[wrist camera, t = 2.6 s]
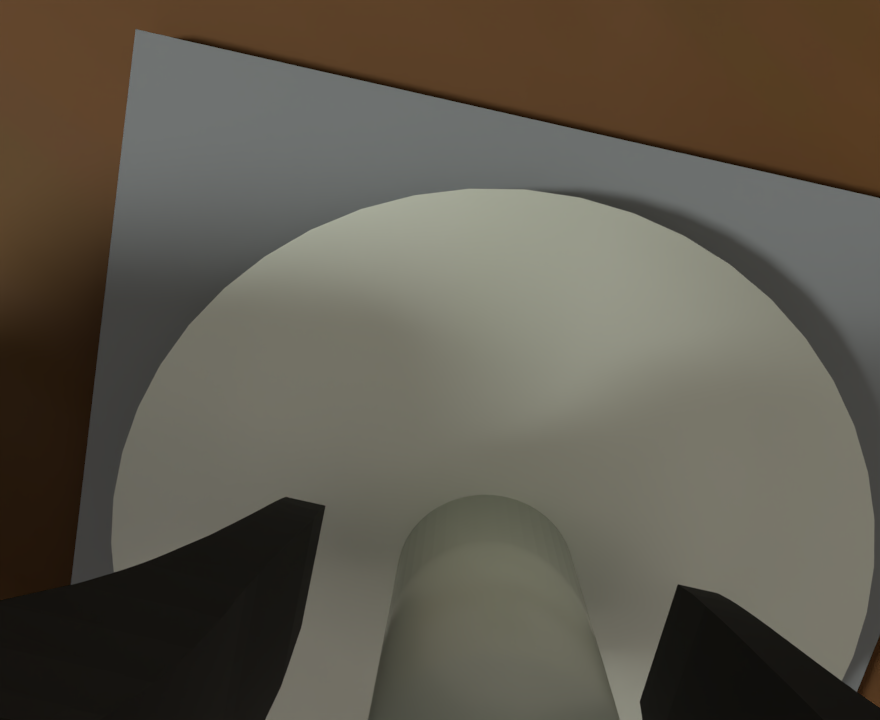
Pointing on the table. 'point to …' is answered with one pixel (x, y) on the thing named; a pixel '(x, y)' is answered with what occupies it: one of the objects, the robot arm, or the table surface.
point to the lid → (507, 455)
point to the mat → (413, 173)
